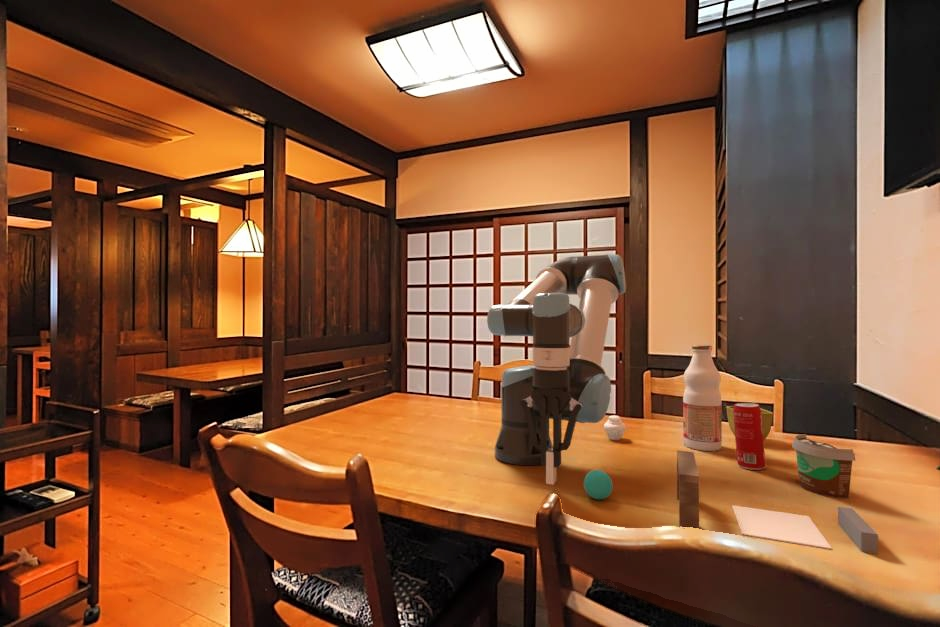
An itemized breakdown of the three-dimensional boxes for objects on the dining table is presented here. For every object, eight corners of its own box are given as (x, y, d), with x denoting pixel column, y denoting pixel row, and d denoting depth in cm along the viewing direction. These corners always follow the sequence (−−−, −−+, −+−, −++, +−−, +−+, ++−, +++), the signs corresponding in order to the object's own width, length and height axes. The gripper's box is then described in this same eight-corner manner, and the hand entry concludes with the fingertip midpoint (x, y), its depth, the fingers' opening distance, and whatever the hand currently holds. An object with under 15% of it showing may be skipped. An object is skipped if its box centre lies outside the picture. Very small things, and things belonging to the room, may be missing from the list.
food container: (777, 479, 100) (777, 434, 100) (803, 478, 100) (803, 433, 100) (826, 502, 88) (826, 451, 88) (855, 501, 88) (855, 450, 88)
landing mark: (742, 534, 75) (742, 533, 75) (731, 506, 86) (731, 505, 86) (831, 549, 70) (831, 548, 70) (808, 517, 81) (808, 516, 81)
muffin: (600, 436, 135) (600, 412, 135) (620, 435, 136) (619, 412, 136) (609, 442, 129) (609, 417, 129) (629, 441, 130) (629, 417, 130)
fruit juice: (699, 452, 119) (699, 346, 119) (675, 442, 128) (675, 344, 128) (730, 450, 121) (729, 346, 121) (704, 440, 130) (704, 343, 130)
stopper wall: (861, 551, 70) (861, 531, 70) (837, 523, 79) (837, 506, 79) (877, 554, 69) (877, 534, 69) (852, 525, 78) (852, 508, 78)
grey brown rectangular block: (679, 527, 77) (679, 474, 77) (676, 496, 91) (676, 450, 91) (699, 530, 76) (699, 476, 76) (693, 498, 90) (693, 452, 90)
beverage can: (769, 471, 105) (769, 407, 105) (739, 470, 106) (738, 406, 106) (758, 463, 110) (758, 402, 110) (729, 461, 112) (729, 401, 112)
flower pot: (774, 444, 126) (774, 412, 126) (742, 444, 126) (742, 412, 126) (755, 436, 135) (754, 406, 135) (725, 436, 135) (725, 406, 135)
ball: (581, 501, 88) (581, 473, 88) (586, 491, 93) (585, 464, 93) (611, 506, 86) (610, 477, 86) (613, 495, 91) (613, 468, 91)
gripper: (515, 368, 93) (515, 483, 92) (579, 371, 87) (580, 493, 87) (525, 364, 99) (525, 471, 99) (586, 367, 94) (586, 480, 94)
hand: (551, 481), depth 93 cm, fingers closed
